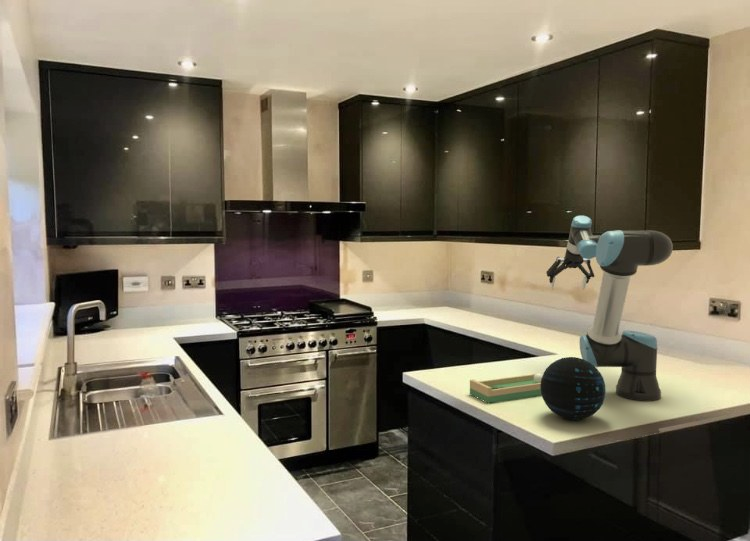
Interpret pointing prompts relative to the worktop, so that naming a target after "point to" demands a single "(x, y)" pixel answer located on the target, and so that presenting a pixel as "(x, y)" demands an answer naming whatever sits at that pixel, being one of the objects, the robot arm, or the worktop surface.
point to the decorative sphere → (573, 388)
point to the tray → (505, 388)
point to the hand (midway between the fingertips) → (567, 288)
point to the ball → (538, 377)
